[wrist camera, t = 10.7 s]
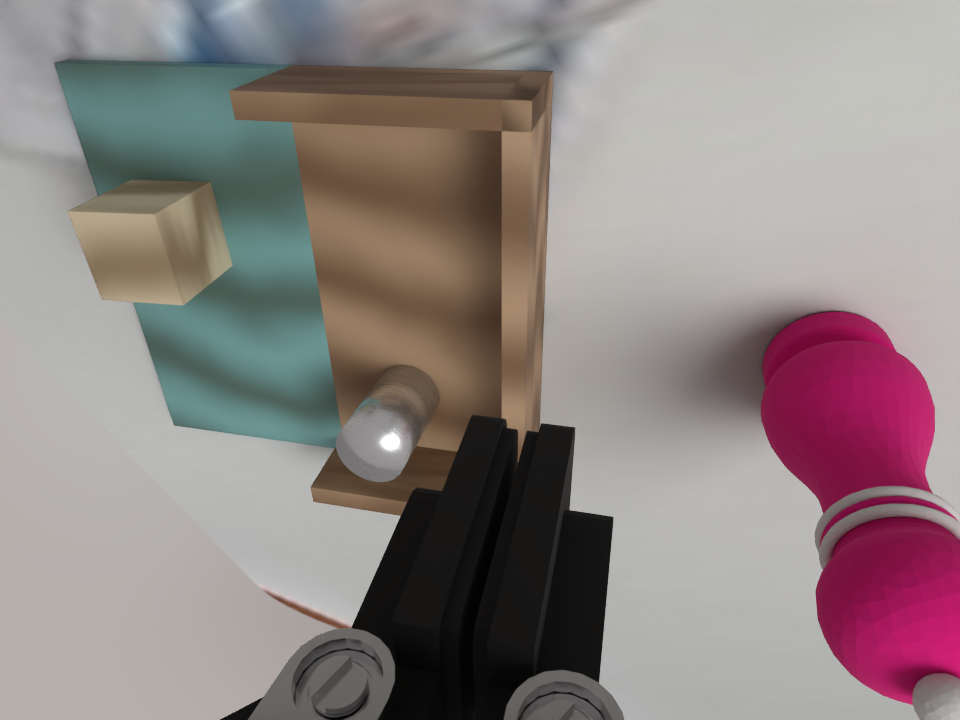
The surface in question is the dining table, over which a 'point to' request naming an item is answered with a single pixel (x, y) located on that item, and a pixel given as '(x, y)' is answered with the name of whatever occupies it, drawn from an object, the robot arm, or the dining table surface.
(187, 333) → the cubby
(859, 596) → the pepper mill
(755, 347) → the dining table surface
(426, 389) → the steel peg
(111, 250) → the birch block
